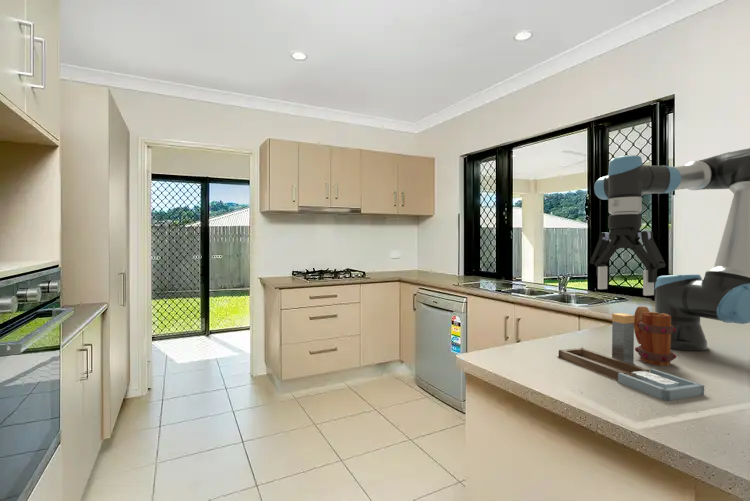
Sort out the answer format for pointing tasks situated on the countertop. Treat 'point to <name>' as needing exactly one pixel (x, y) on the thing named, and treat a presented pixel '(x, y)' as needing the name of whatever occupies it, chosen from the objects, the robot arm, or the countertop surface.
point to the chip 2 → (663, 382)
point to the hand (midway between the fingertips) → (624, 292)
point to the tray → (683, 391)
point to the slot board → (598, 362)
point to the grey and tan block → (623, 337)
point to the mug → (653, 336)
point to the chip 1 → (643, 375)
